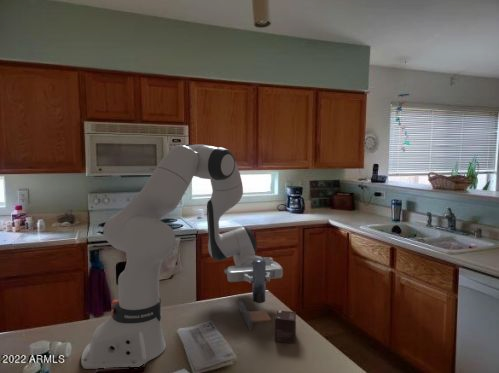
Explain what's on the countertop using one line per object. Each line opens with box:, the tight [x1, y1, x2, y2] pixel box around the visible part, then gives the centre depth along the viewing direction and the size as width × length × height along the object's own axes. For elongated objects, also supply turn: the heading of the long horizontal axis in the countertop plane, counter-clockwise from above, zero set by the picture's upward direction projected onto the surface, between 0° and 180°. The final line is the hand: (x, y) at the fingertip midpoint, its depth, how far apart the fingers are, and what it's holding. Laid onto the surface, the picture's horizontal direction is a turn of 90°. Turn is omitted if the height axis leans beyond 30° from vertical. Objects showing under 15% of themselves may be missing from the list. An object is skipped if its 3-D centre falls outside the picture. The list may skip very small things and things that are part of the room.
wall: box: [239, 300, 254, 331], centre depth 120 cm, size 1×16×3 cm, turn 13°
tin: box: [252, 259, 267, 304], centre depth 121 cm, size 4×4×14 cm
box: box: [274, 310, 297, 344], centre depth 108 cm, size 6×6×7 cm
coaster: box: [248, 309, 272, 323], centre depth 122 cm, size 7×7×1 cm
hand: (259, 280), depth 120 cm, fingers closed on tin, 4 cm apart
